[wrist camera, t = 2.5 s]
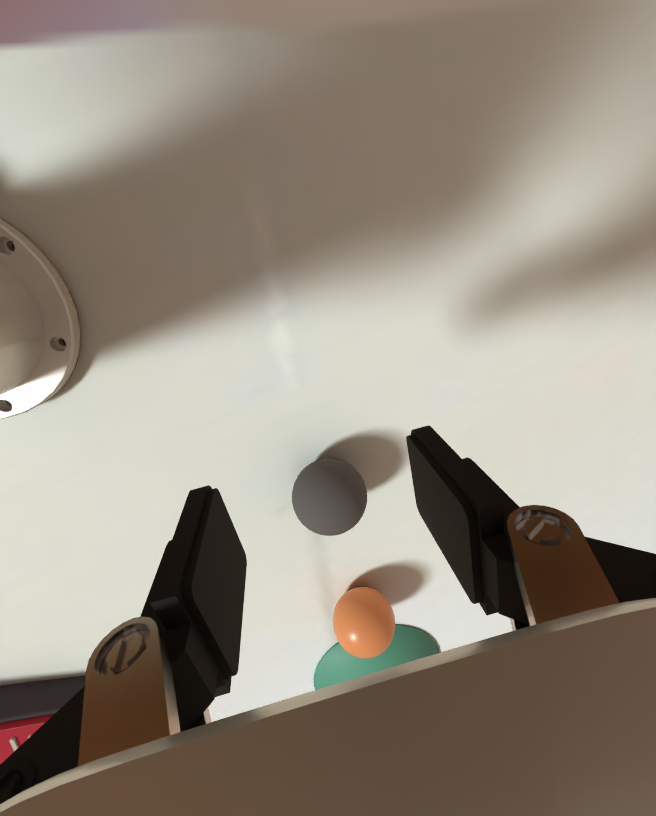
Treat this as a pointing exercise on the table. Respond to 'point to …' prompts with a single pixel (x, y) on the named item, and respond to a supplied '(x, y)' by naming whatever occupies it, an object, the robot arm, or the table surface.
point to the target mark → (401, 650)
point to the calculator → (31, 708)
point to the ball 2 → (364, 622)
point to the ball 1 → (329, 497)
